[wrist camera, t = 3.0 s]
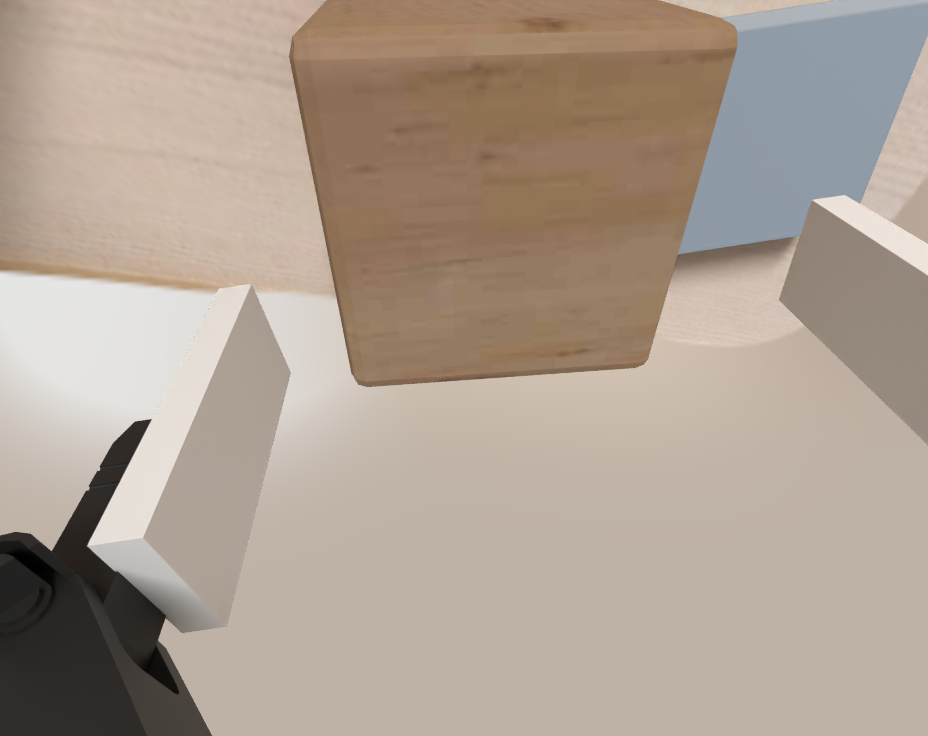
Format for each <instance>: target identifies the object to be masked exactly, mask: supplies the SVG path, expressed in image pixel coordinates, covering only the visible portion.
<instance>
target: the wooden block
mask: <svg viewBox="0 0 928 736" xmlns="http://www.w3.org/2000/svg"><path fill="white" fill-rule="evenodd" d="M737 33H738V31H737V29H736V27H735V26H734V25H733V24H731V23H729V22H727V21H725V20H724V19H722V18H719V17H715V16H712V15H708V14H705V13H701V12H698V11H694V10H691V9H687V8H684V7H680V6H677V5H673V4H670V3H666V2H663V1H659V0H327V1H326V2H325V3H324V4H323V5H322V6H321V7H320V8H319V9H318V10H317V11H316V12H315V13H314V14H313V16H312V17H311V18H310V19H309V20H308V21H307V22H306V23H305V24H304V25H303V26H302V27H301V28H300V29H299V30H298V31H297V33H296V34H295V35H294V36H293V37H292V43H291V49H290V55H289V58H290V63H291V68H292V73H293V78H294V83H295V88H296V93H297V98H298V103H299V109H300V114H301V119H302V124H303V129H304V134H305V139H306V144H307V149H308V154H309V159H310V165H311V170H312V175H313V180H314V185H315V190H316V195H317V200H318V205H319V210H320V215H321V220H322V226H323V231H324V236H325V241H326V246H327V251H328V256H329V261H330V266H331V271H332V276H333V282H334V287H335V292H336V297H337V302H338V307H339V311H340V316H341V322H342V327H343V332H344V337H345V342H346V347H347V353H348V358H349V363H350V368H351V373H352V375H353V376H354V378H355V380H356V381H357V383H358V384H359V385H362V386H366V387H372V386H387V385H401V384H415V383H429V382H443V381H457V380H471V379H484V378H485V379H486V378H500V377H514V376H528V375H541V374H556V373H569V372H584V371H598V370H612V369H625V368H636V367H639V366H641V365H643V364H644V363H645V362H646V361H647V360H648V357H649V353H650V350H651V346H652V343H653V339H654V336H655V332H656V329H657V326H658V322H659V319H660V315H661V312H662V308H663V305H664V301H665V298H666V294H667V291H668V287H669V284H670V280H671V277H672V273H673V270H674V266H675V263H676V259H677V256H678V252H679V249H680V245H681V242H682V238H683V235H684V231H685V228H686V224H687V221H688V218H689V214H690V211H691V207H692V204H693V200H694V197H695V193H696V190H697V186H698V183H699V179H700V176H701V172H702V169H703V165H704V162H705V158H706V155H707V151H708V148H709V144H710V141H711V137H712V134H713V130H714V127H715V123H716V120H717V116H718V113H719V109H720V106H721V103H722V99H723V96H724V92H725V89H726V85H727V82H728V78H729V75H730V71H731V68H732V64H733V61H734V57H735V54H736V50H737Z"/></svg>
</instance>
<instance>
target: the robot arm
mask: <svg viewBox="0 0 928 736" xmlns="http://www.w3.org/2000/svg"><path fill="white" fill-rule="evenodd" d="M779 300H780V301H781V302H782V303H783V304H784V305H785V306H786V307H787V308H788V309H789V310H790V311H791V312H792V313H793V314H794V315H795V316H796V317H797V318H798V319H799V320H800V321H801V322H802V323H803V324H804V325H805V326H806V327H807V328H808V329H809V330H810V331H811V332H812V333H814V335H815V336H817V337H818V338H819V339H820V340H821V341H822V342H823V343H824V344H825V345H826V346H827V347H828V348H829V349H830V350H831V351H832V352H833V353H834V354H835V355H836V356H837V357H838V358H839V359H840V360H841V361H842V362H843V363H844V364H845V365H846V366H847V367H848V368H850V370H852V372H853V373H854V374H856V375H857V376H858V377H859V378H860V379H861V380H862V381H863V382H864V383H865V384H866V385H867V386H868V387H869V388H870V389H871V390H872V391H873V392H874V393H875V394H876V395H877V396H878V397H879V398H880V399H881V400H882V401H883V402H884V403H885V404H886V405H887V406H888V407H889V408H890V409H892V411H894V412H895V413H896V414H897V415H898V416H899V417H900V418H901V419H902V420H903V421H904V422H905V423H906V424H907V425H908V426H909V427H910V428H911V429H912V430H913V431H914V432H915V433H916V434H917V435H918V436H919V437H920V438H921V439H922V440H923V441H924V442H925V443H926V444H928V244H926V243H925V242H923V241H921V240H920V239H918V238H917V237H915V236H913V235H911V234H910V233H908V232H906V231H905V230H903V229H901V228H900V227H898V226H896V225H895V224H893V223H891V222H890V221H888V220H886V219H884V218H883V217H881V216H879V215H878V214H876V213H874V212H873V211H871V210H869V209H868V208H866V207H864V206H863V205H861V204H859V203H857V202H856V201H854V200H852V199H851V198H849V197H847V196H846V195H841V196H835V197H828V198H821V199H815V200H812V201H811V204H810V207H809V210H808V213H807V216H806V219H805V222H804V225H803V229H802V232H801V235H800V238H799V241H798V244H797V247H796V250H795V253H794V256H793V259H792V262H791V265H790V268H789V271H788V274H787V277H786V280H785V283H784V286H783V289H782V292H781V295H780V298H779ZM289 377H290V370H289V368H288V366H287V364H286V361H285V359H284V357H283V354H282V352H281V350H280V347H279V345H278V343H277V341H276V338H275V336H274V334H273V332H272V329H271V328H270V325H269V323H268V321H267V318H266V316H265V314H264V311H263V309H262V307H261V304H260V302H259V300H258V298H257V295H256V293H255V291H254V289H253V286H252V284H248V285H241V286H234V287H228V288H221V289H219V290H218V292H217V294H216V296H215V297H214V299H213V301H212V303H211V305H210V307H209V309H208V311H207V313H206V315H205V317H204V319H203V321H202V323H201V325H200V327H199V329H198V331H197V333H196V335H195V336H194V338H193V340H192V343H191V344H190V346H189V348H188V350H187V352H186V354H185V356H184V358H183V360H182V362H181V364H180V366H179V368H178V370H177V372H176V374H175V375H174V377H173V379H172V381H171V384H170V385H169V387H168V389H167V391H166V393H165V395H164V397H163V399H162V401H161V403H160V405H159V407H158V409H157V411H156V413H155V415H154V416H153V419H150V420H143V421H137V422H134V423H133V424H132V425H131V426H130V427H129V428H128V429H127V430H126V431H125V432H124V433H123V434H122V435H121V436H120V437H119V438H118V439H117V440H116V441H115V442H114V443H113V444H112V446H111V448H110V449H109V451H108V453H107V455H106V456H105V458H104V460H103V462H102V464H101V465H100V471H97V473H96V474H95V476H94V478H93V479H92V481H91V483H90V485H89V487H90V489H89V491H86V492H85V494H84V496H83V497H82V499H81V501H80V503H79V504H78V506H77V508H76V510H75V511H74V513H73V515H72V517H71V518H70V520H69V522H68V524H67V526H66V527H65V529H64V531H63V533H62V535H61V536H60V538H59V540H58V541H57V543H56V545H55V547H54V549H53V550H52V551H50V550H49V549H48V548H47V547H46V546H45V545H43V544H42V543H41V542H40V541H39V540H37V539H36V538H35V537H34V536H33V535H31V534H28V533H20V532H13V533H9V534H5V535H1V536H0V736H212V735H211V733H210V731H209V729H208V727H207V725H206V723H205V722H204V720H203V718H202V716H201V714H200V712H199V710H198V708H197V706H196V705H195V703H194V701H193V699H192V697H191V695H190V693H189V691H188V689H187V687H186V686H185V684H184V682H183V680H182V678H181V676H180V674H179V672H178V670H177V668H176V667H175V665H174V663H173V661H172V659H171V657H170V655H169V653H168V652H167V649H166V648H165V647H164V646H163V645H162V644H161V643H160V642H159V641H158V638H159V635H160V632H161V629H162V626H163V623H164V621H165V618H166V619H167V620H168V621H170V622H171V623H172V624H173V625H174V626H175V627H176V628H177V629H178V630H179V631H180V632H182V633H185V632H192V631H199V630H206V629H213V628H219V627H226V626H227V623H228V620H229V616H230V612H231V608H232V603H233V600H234V596H235V592H236V588H237V584H238V580H239V576H240V572H241V568H242V564H243V560H244V556H245V552H246V548H247V544H248V540H249V536H250V532H251V528H252V524H253V520H254V516H255V512H256V508H257V504H258V500H259V496H260V493H261V489H262V485H263V480H264V476H265V473H266V469H267V465H268V461H269V457H270V453H271V448H272V445H273V441H274V437H275V433H276V429H277V425H278V421H279V417H280V413H281V409H282V405H283V401H284V397H285V393H286V389H287V385H288V381H289Z"/></svg>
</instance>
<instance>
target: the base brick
mask: <svg viewBox="0 0 928 736" xmlns="http://www.w3.org/2000/svg"><path fill="white" fill-rule="evenodd" d="M722 19H724V20H725V21H727V22H729V23H731V24H733V25H734V26H735V27H736V29H737V31H738V33H737V50H736V54H735V57H734V61H733V64H732V68H731V71H730V75H729V78H728V82H727V85H726V89H725V92H724V96H723V99H722V103H721V106H720V109H719V113H718V116H717V120H716V123H715V127H714V130H713V134H712V137H711V141H710V144H709V148H708V151H707V155H706V158H705V162H704V165H703V169H702V172H701V176H700V179H699V183H698V186H697V190H696V193H695V197H694V200H693V204H692V207H691V211H690V214H689V218H688V221H687V224H686V228H685V231H684V235H683V238H682V242H681V245H680V249H679V252H678V254H683V253H690V252H697V251H703V250H710V249H716V248H723V247H729V246H736V245H743V244H749V243H756V242H762V241H769V240H775V239H782V238H789V237H795V236H800V235H801V232H802V229H803V225H804V222H805V219H806V216H807V213H808V210H809V207H810V204H811V201H812V200H815V199H821V198H828V197H835V196H841V195H846V196H847V197H849V198H851V199H852V200H854V201H856V202H857V203H859V204H860V202H861V200H862V197H863V195H864V192H865V190H866V187H867V185H868V182H869V180H870V177H871V175H872V172H873V170H874V167H875V165H876V162H877V160H878V157H879V155H880V152H881V150H882V147H883V145H884V142H885V140H886V137H887V135H888V133H889V130H890V128H891V125H892V123H893V120H894V118H895V115H896V113H897V110H898V108H899V105H900V103H901V100H902V98H903V95H904V93H905V90H906V88H907V85H908V83H909V80H910V78H911V75H912V73H913V70H914V68H915V65H916V63H917V60H918V58H919V55H920V53H921V50H922V48H923V45H924V43H925V40H926V38H927V35H928V0H837V1H831V2H824V3H818V4H811V5H805V6H798V7H792V8H785V9H778V10H772V11H765V12H759V13H752V14H746V15H739V16H733V17H726V18H722Z"/></svg>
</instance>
